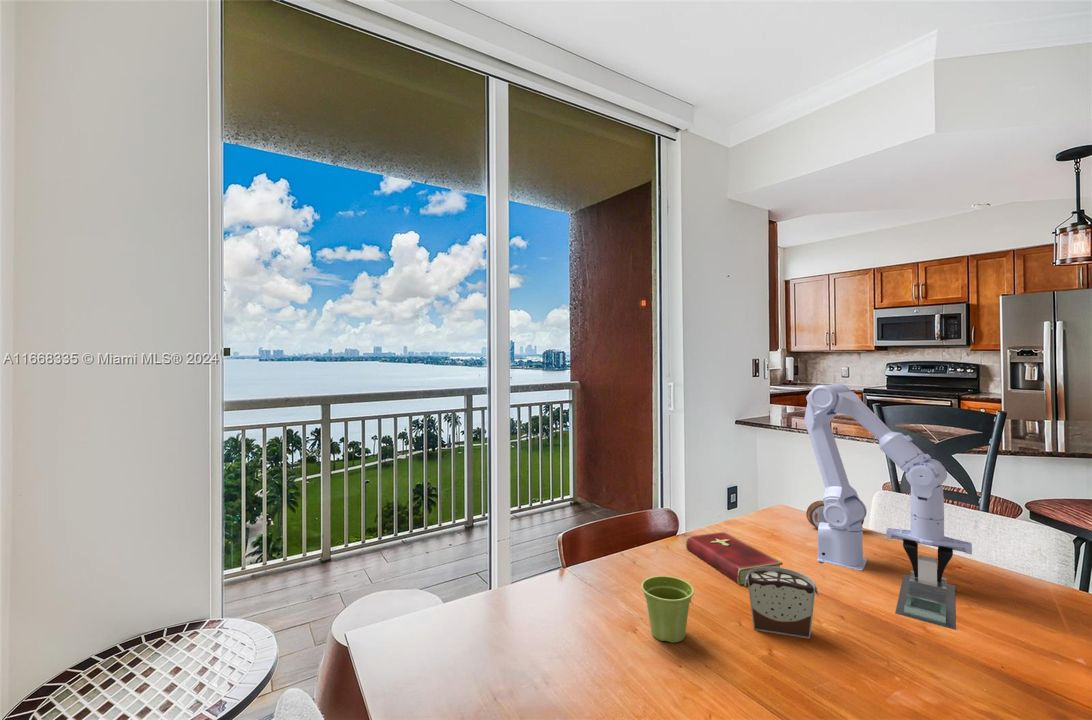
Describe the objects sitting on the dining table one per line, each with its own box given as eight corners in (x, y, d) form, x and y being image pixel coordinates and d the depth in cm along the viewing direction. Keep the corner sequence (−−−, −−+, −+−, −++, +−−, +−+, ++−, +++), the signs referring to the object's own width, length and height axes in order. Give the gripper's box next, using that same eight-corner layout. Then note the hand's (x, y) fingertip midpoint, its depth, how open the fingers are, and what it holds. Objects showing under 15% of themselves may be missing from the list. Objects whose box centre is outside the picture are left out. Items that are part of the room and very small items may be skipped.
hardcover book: (738, 587, 106) (738, 568, 106) (685, 551, 127) (685, 535, 127) (782, 579, 110) (782, 561, 110) (724, 546, 130) (724, 530, 130)
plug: (918, 586, 104) (917, 559, 104) (919, 580, 107) (918, 554, 107) (937, 591, 102) (936, 563, 102) (937, 585, 105) (937, 557, 105)
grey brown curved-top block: (812, 622, 91) (811, 570, 91) (819, 640, 85) (818, 584, 85) (743, 611, 95) (742, 562, 95) (745, 628, 89) (744, 575, 89)
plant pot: (665, 655, 81) (665, 604, 81) (631, 628, 90) (631, 582, 90) (705, 640, 86) (705, 592, 86) (669, 615, 94) (669, 571, 94)
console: (895, 615, 93) (895, 605, 93) (903, 575, 110) (903, 567, 110) (955, 631, 87) (955, 621, 87) (954, 587, 104) (954, 578, 104)
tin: (860, 529, 140) (860, 501, 140) (866, 533, 137) (865, 504, 137) (805, 527, 142) (805, 499, 142) (810, 531, 139) (809, 502, 139)
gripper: (884, 513, 106) (885, 575, 106) (972, 528, 96) (972, 595, 96) (887, 506, 111) (888, 564, 111) (971, 519, 102) (971, 582, 102)
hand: (927, 578), depth 104 cm, fingers closed on plug, 3 cm apart
